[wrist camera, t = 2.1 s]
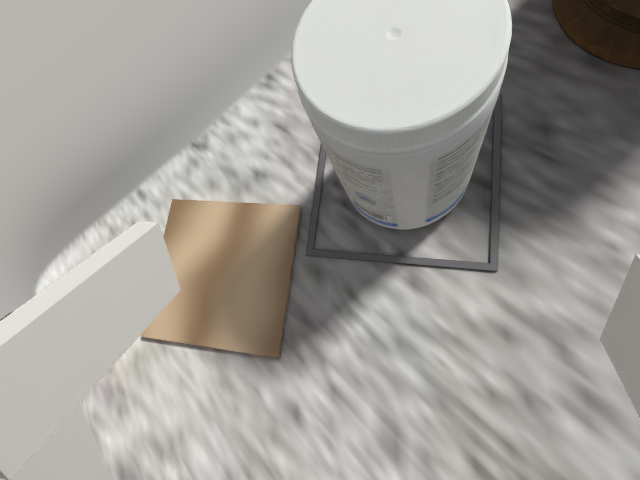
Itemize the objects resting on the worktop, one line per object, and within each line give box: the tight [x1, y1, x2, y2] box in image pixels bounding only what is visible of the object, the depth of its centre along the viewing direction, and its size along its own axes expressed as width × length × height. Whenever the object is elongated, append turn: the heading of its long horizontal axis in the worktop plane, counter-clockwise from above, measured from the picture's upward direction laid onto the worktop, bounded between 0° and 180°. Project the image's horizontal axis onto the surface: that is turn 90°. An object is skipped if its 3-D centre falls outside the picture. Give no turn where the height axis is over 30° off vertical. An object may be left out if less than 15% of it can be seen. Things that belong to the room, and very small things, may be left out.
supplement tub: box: [291, 0, 512, 230], centre depth 23 cm, size 10×10×15 cm
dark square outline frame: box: [306, 95, 502, 271], centre depth 30 cm, size 14×14×1 cm
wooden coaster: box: [141, 199, 301, 358], centre depth 31 cm, size 12×12×1 cm
